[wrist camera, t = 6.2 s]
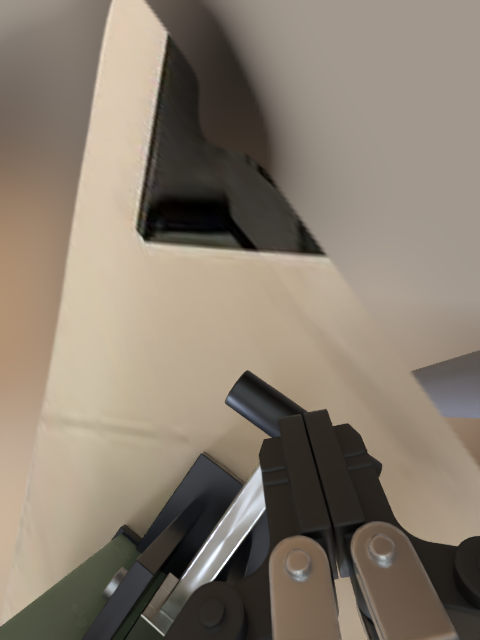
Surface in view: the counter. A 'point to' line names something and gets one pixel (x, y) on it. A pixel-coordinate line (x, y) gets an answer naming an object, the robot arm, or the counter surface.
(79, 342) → the counter surface
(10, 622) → the toaster
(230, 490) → the lever bracket
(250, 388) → the lever
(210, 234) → the counter surface
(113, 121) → the counter surface
